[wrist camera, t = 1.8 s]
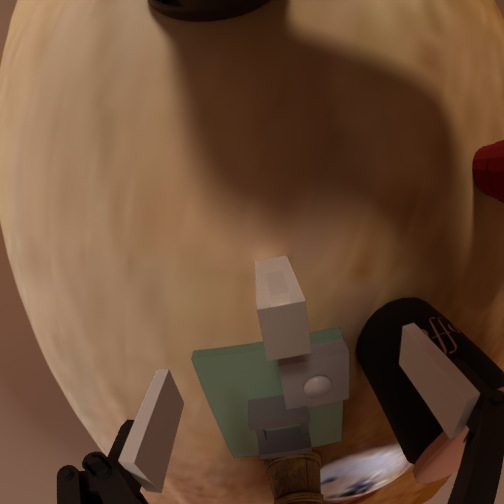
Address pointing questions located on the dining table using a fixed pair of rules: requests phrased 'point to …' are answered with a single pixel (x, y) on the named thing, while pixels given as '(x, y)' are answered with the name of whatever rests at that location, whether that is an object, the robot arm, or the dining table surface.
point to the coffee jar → (404, 392)
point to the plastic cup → (490, 170)
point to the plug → (281, 309)
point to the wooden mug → (295, 478)
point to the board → (277, 395)
